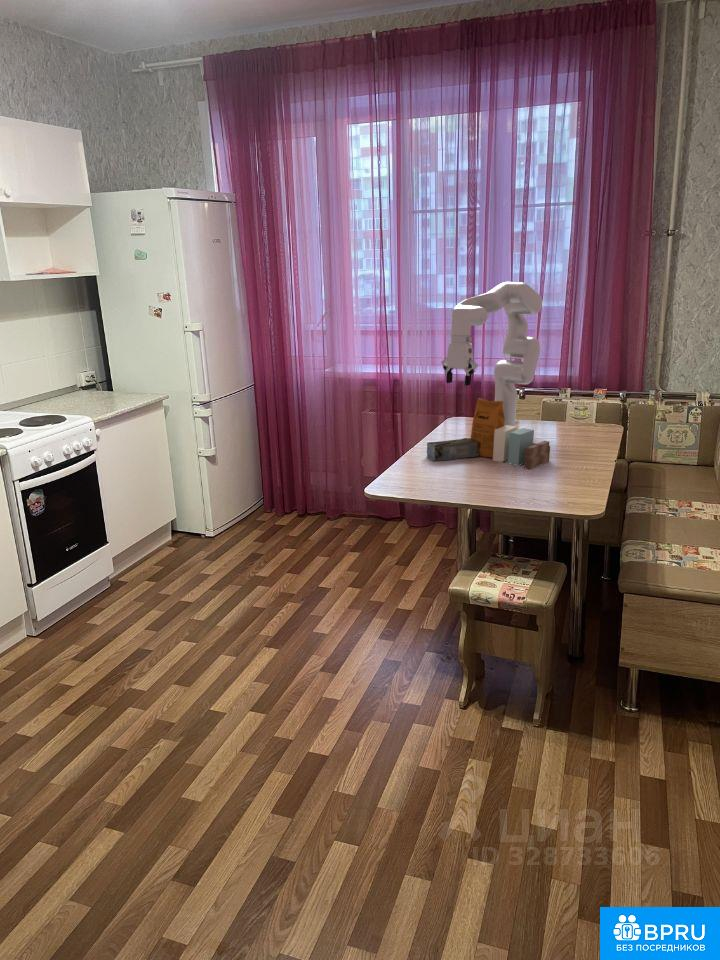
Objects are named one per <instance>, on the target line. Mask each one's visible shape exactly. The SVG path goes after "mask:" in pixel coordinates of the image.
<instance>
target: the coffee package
mask: <svg viewBox="0 0 720 960" xmlns="http://www.w3.org/2000/svg"><path fill="white" fill-rule="evenodd" d="M504 421H505V418H504V411H503V401H495V400H486V399H483V398H480V397H478V398H477V401H476V404H475V409H474V415H473V418H472V425H471V434H470V439H472V440H475V441H477V442H478V457H479V456H480V457H482V456H483V458H492V459H493V449H494V432H495V429H498V428H500V427H503V426H504Z"/></svg>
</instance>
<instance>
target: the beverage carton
mask: <svg viewBox="0 0 720 960" xmlns="http://www.w3.org/2000/svg"><path fill="white" fill-rule="evenodd" d="M476 457H479V455H478V442H477V441H475V440H472V439H471V437H469V438H466V437H464V438H460V439H459V438H458V439H451V440H449V439H448V440H442V441H440V440H439V441H430V442H426V458H428V459H430V460H432V461H434V462H439V461H449V460H451V461H452V460H458V459H459V460H460V459H467V458H476Z"/></svg>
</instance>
